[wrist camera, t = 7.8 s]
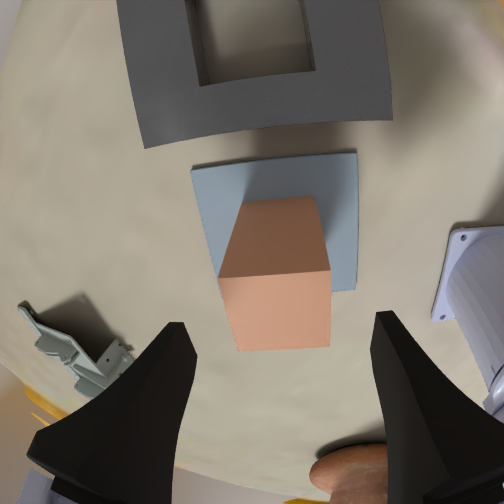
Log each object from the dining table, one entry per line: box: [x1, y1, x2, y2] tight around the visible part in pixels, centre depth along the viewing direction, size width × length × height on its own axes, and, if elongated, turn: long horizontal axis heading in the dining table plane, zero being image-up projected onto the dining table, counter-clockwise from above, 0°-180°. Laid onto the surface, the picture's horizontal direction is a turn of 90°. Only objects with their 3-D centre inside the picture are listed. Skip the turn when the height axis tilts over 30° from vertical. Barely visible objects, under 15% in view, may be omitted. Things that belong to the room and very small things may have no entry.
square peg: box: [217, 196, 331, 351], centre depth 14 cm, size 4×4×7 cm
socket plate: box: [117, 0, 393, 149], centre depth 11 cm, size 12×10×2 cm
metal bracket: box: [17, 306, 135, 400], centre depth 27 cm, size 14×6×15 cm
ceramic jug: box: [309, 443, 388, 504], centre depth 30 cm, size 18×14×14 cm
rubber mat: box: [190, 152, 358, 299], centre depth 18 cm, size 9×9×1 cm
